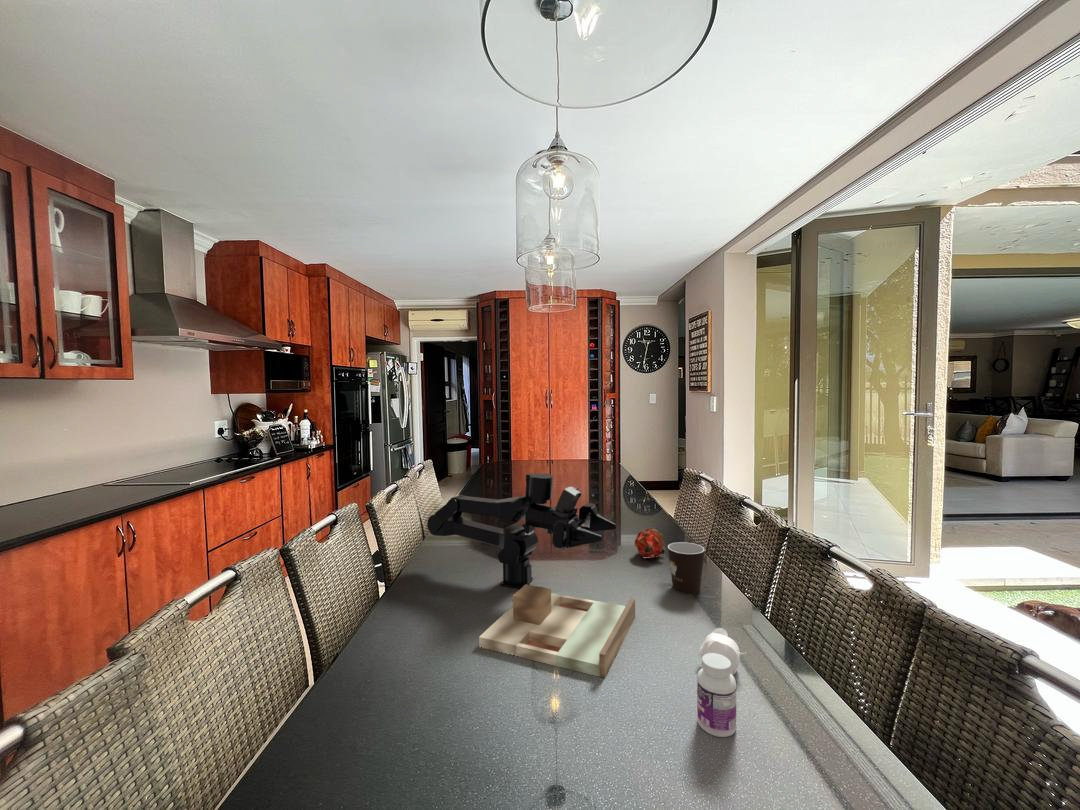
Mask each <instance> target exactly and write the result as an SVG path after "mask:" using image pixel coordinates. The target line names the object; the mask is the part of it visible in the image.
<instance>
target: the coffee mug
mask: <svg viewBox="0 0 1080 810" xmlns="http://www.w3.org/2000/svg"><path fill="white" fill-rule="evenodd" d="M667 553H668V560H669V567H670V575H671V582H672V583H671V584H672V588H673V590H674V591H676V592H678V593H681V594H685V595H687V594H688V595H693V594H692V593H695V594H698V593H699V592H701V586H702V576H703V567H704V558H705V547H704V546H702V545H699V544H697V543H693V542H685V541H682V542H681V541H679V542H672V543H669V544H668V545H667ZM697 592H698V593H697Z"/></svg>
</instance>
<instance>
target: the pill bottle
mask: <svg viewBox="0 0 1080 810" xmlns="http://www.w3.org/2000/svg"><path fill="white" fill-rule="evenodd" d="M696 687H697V688H696V689H697V690H696V691H697V692H696V695H697V696H696V698H697V699H696V703H697V705H696V706H697V707H696V708H697V722H698V725H699V726H700V728H702V730H703V731H704V732H706V733H707V734H709V735H712V736H714V737H720V738H726V737H731V736H732V735H733V734H735V732H736V730H737V681H736V678H735V676H734V674H733V675H732V674H731V662H730V660H729V659H728V658H726V657H725V656H723V655H720V654H716V653H708V654H705V655H703V657H702V658H701V668H700V669H699V670H698V672H697V675H696Z"/></svg>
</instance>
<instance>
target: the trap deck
mask: <svg viewBox="0 0 1080 810" xmlns="http://www.w3.org/2000/svg"><path fill="white" fill-rule="evenodd" d="M635 618H636V598H633V597H630V598H629V600H628V601H627V603H626V606H625V605H622V604H615V603H610V602H604V601H598V600H593V599H586V598H582V597H581V598H580V597H576V596H571V595H565V594H564V595H563V594H558V593H553V592H551V613H550V614H549V615H548V616H547V618H546V619H545V620H544V621H543V622H542V623H541V624H540V625H537V624H532V623H527V622H522V621H518V620H513V605H512V606H510V607H509V609H507V610H506V611H505V612H504V613H503V614H502V615H501V616H500V617H499V618H498V619H496V621H494V622H493V623H492V624H491V625H490V626H488V628H487V629H486V630H485V631H484V632H483V633H482V634H481V635H479V637H478V647H479V648H481V647H482V648H481V649H486V650H489V649H490V651H493V650H494V651H493V652H497V651H498V653H501V652H502V653H501V654H505V653H506V654H505V655H509V654H511V655H510V656H513V655H515V656H514V657H517V656H519V657H518V658H522V659H525V660H530V661H533V662H534V661H535V662H538V663H542V664H547V665H551V666H555V667H559V668H562V669H563V668H564V669H567V670H570V671H575V672H580V673H583V674H587V675H591V676H595V677H599V678H603V679H606V677H607V675H608V674H609V671H610V669H611V667H612V665H613V663H614V661H615V659H616V657H617V655H618V653H619V651H620V649H621V647H622V645H623V643H624V641H625V639H626V636H627V634H628V633H629V631H630V628H631V626H632V625H633V623H634V621H635Z"/></svg>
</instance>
